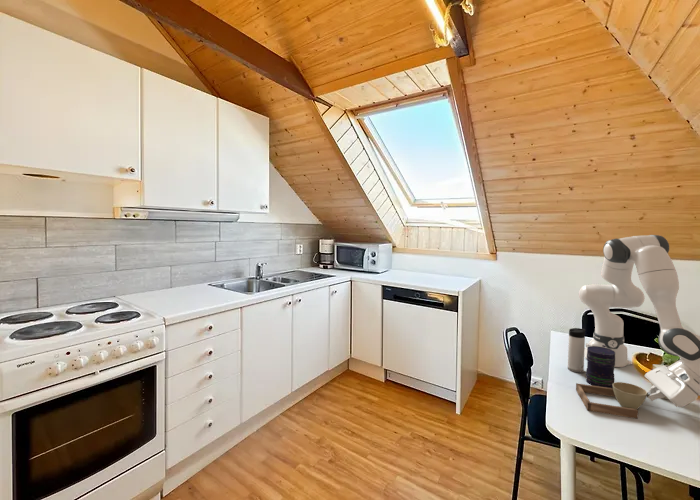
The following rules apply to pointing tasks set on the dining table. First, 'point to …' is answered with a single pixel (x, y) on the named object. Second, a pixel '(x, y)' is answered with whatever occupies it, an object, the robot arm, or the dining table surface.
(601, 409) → the frame
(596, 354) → the storage jar
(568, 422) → the dining table surface
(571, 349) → the travel mug
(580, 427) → the dining table surface
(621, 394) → the beige bowl
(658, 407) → the dining table surface
